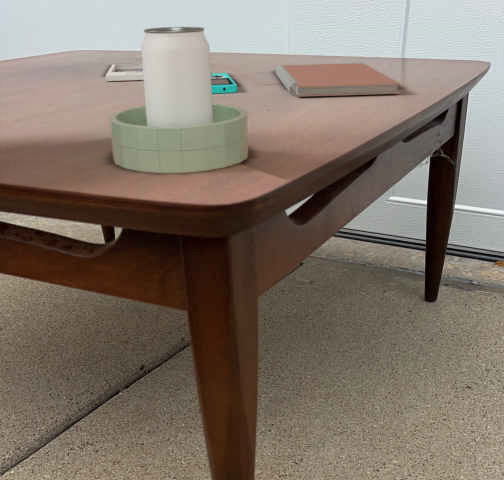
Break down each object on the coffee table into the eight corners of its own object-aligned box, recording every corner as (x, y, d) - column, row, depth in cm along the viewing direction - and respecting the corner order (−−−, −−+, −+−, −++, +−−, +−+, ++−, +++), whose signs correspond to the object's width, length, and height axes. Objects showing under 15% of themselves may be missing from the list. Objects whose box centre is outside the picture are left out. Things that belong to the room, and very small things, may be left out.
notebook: (274, 75, 130) (274, 64, 129) (362, 72, 131) (362, 61, 130) (290, 98, 105) (290, 84, 104) (399, 95, 106) (400, 81, 105)
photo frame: (105, 74, 125) (112, 63, 142) (105, 81, 126) (113, 69, 142) (185, 71, 127) (183, 61, 143) (186, 78, 127) (183, 66, 143)
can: (192, 146, 73) (185, 25, 68) (226, 157, 69) (222, 28, 64) (138, 155, 70) (126, 29, 65) (170, 168, 65) (161, 32, 60)
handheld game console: (228, 79, 126) (228, 71, 125) (239, 92, 112) (238, 83, 111) (173, 81, 125) (172, 73, 124) (177, 95, 110) (176, 86, 110)
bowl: (151, 190, 61) (147, 134, 59) (93, 161, 71) (88, 112, 69) (274, 167, 68) (273, 115, 66) (205, 143, 78) (203, 98, 76)
